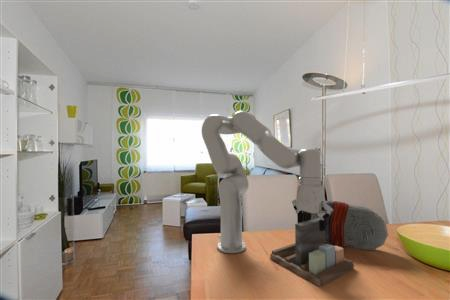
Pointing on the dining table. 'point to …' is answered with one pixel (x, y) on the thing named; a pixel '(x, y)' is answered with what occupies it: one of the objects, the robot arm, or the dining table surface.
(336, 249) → the terracotta offcut board
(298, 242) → the charcoal panel
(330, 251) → the slate offcut board
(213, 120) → the robot arm
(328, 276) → the walnut rack
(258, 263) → the dining table surface
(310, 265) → the sage offcut board
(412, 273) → the dining table surface
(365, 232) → the decorative stone tablet
